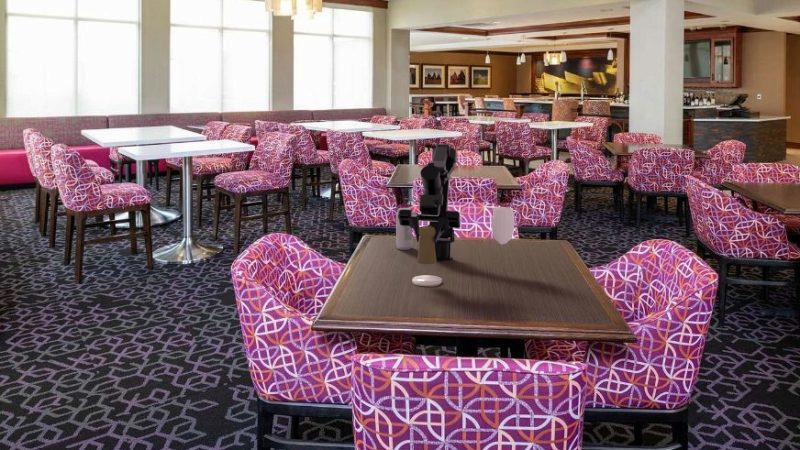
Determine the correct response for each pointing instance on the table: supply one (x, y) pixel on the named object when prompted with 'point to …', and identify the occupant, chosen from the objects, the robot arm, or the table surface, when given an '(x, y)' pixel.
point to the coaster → (427, 280)
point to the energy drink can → (403, 234)
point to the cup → (503, 224)
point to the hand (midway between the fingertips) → (426, 241)
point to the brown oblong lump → (426, 245)
